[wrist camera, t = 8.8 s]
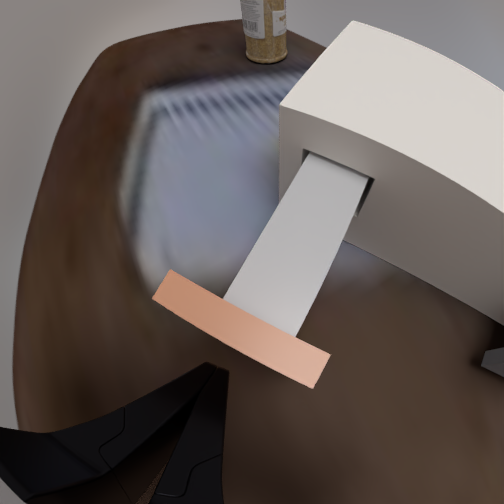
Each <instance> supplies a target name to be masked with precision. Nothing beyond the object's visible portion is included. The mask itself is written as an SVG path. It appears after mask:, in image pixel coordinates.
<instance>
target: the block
mask: <svg viewBox="0 0 504 504" xmlns="http://www.w3.org/2000/svg"><path fill="white" fill-rule="evenodd" d="M310 151H312V152H314V153H317V154H319V155H322V156H324V157H327V158H329V159H331V160H334V161H336V162H338V163H341V164H343V165H345V166H348V167H350V168H352V169H355V170H357V171H359V172H361V173H363V174H366V175H368V176H369V178H368V181H367V183H366V186H365V188H364V191H363V193H362V196H361V198H360V200H359V203H358V205H357V208H356V210H355V212H354V215H353V217H352V219H351V222H350V224H349V226H348V229H347V231H346V233H345V236H344V238H343V240H344V241H346V242H348V243H350V244H352V245H354V246H356V247H359V248H361V249H363V250H365V251H367V252H369V253H371V254H373V255H375V256H377V257H379V258H381V259H383V260H385V261H387V262H389V263H391V264H393V265H395V266H397V267H398V268H400V269H402V270H404V271H406V272H408V273H410V274H412V275H414V276H416V277H418V278H420V279H421V280H423V281H425V282H427V283H429V284H431V285H433V286H435V287H436V288H438V289H440V290H442V291H444V292H446V293H447V294H449V295H451V296H453V297H455V298H457V299H458V300H460V301H462V302H464V303H466V304H467V305H469V306H471V307H473V308H474V309H476V310H478V311H480V312H481V313H483V314H485V315H486V316H488V317H490V318H492V319H493V320H495V321H497V322H498V323H500V324H502V325H503V326H504V91H503V90H501V89H500V88H498V87H497V86H495V85H494V84H492V83H491V82H489V81H487V80H486V79H484V78H483V77H481V76H479V75H478V74H476V73H474V72H473V71H471V70H469V69H467V68H466V67H464V66H462V65H460V64H458V63H456V62H454V61H453V60H451V59H449V58H447V57H445V56H443V55H441V54H439V53H437V52H435V51H433V50H431V49H428V48H426V47H424V46H422V45H420V44H417V43H415V42H413V41H410V40H408V39H405V38H403V37H400V36H398V35H395V34H392V33H390V32H387V31H384V30H381V29H378V28H376V27H373V26H369V25H366V24H363V23H360V22H357V21H352V22H351V23H350V24H349V25H348V26H347V27H346V28H345V29H344V30H343V31H342V32H341V34H339V36H338V37H337V38H336V39H335V40H334V41H333V42H332V43H331V44H330V45H329V47H328V48H327V49H326V50H325V51H324V52H323V53H322V54H321V56H320V57H319V58H318V59H317V60H316V61H315V62H314V64H313V65H312V66H311V67H310V68H309V69H308V71H307V72H306V73H305V74H304V75H303V77H302V78H301V79H300V80H299V81H298V82H297V84H296V85H295V86H294V87H293V88H292V90H291V91H290V92H289V93H288V95H287V96H286V97H285V98H284V99H283V101H282V102H281V103H280V104H279V203H280V201H281V200H282V198H283V196H284V195H285V193H286V191H287V190H288V188H289V186H290V185H291V183H292V181H293V179H294V178H295V176H296V174H297V173H298V171H299V169H300V168H301V166H302V164H303V163H304V161H305V159H306V157H307V156H308V154H309V152H310Z"/></svg>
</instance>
